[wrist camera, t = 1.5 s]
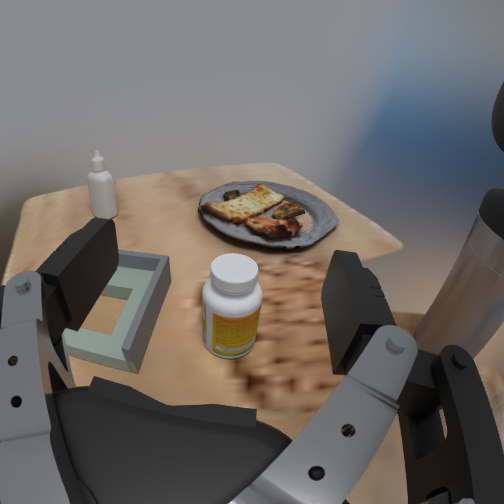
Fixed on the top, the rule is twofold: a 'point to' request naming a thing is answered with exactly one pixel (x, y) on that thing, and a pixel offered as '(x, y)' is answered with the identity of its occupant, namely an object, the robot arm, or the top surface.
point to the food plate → (259, 206)
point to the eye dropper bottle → (101, 189)
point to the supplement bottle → (231, 306)
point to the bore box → (126, 313)
